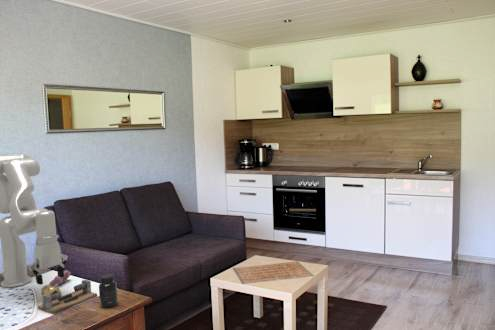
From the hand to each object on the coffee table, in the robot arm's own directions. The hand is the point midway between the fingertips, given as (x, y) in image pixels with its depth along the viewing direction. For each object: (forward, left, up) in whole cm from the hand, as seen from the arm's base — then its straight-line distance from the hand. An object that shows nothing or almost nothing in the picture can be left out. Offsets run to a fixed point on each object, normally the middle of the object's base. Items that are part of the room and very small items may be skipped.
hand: (50, 280), depth 184 cm
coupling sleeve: (-1, 0, -8) cm, 8 cm away
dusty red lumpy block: (-12, +13, -8) cm, 20 cm away
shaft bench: (+10, +1, -8) cm, 13 cm away
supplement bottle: (+27, +7, -8) cm, 29 cm away
